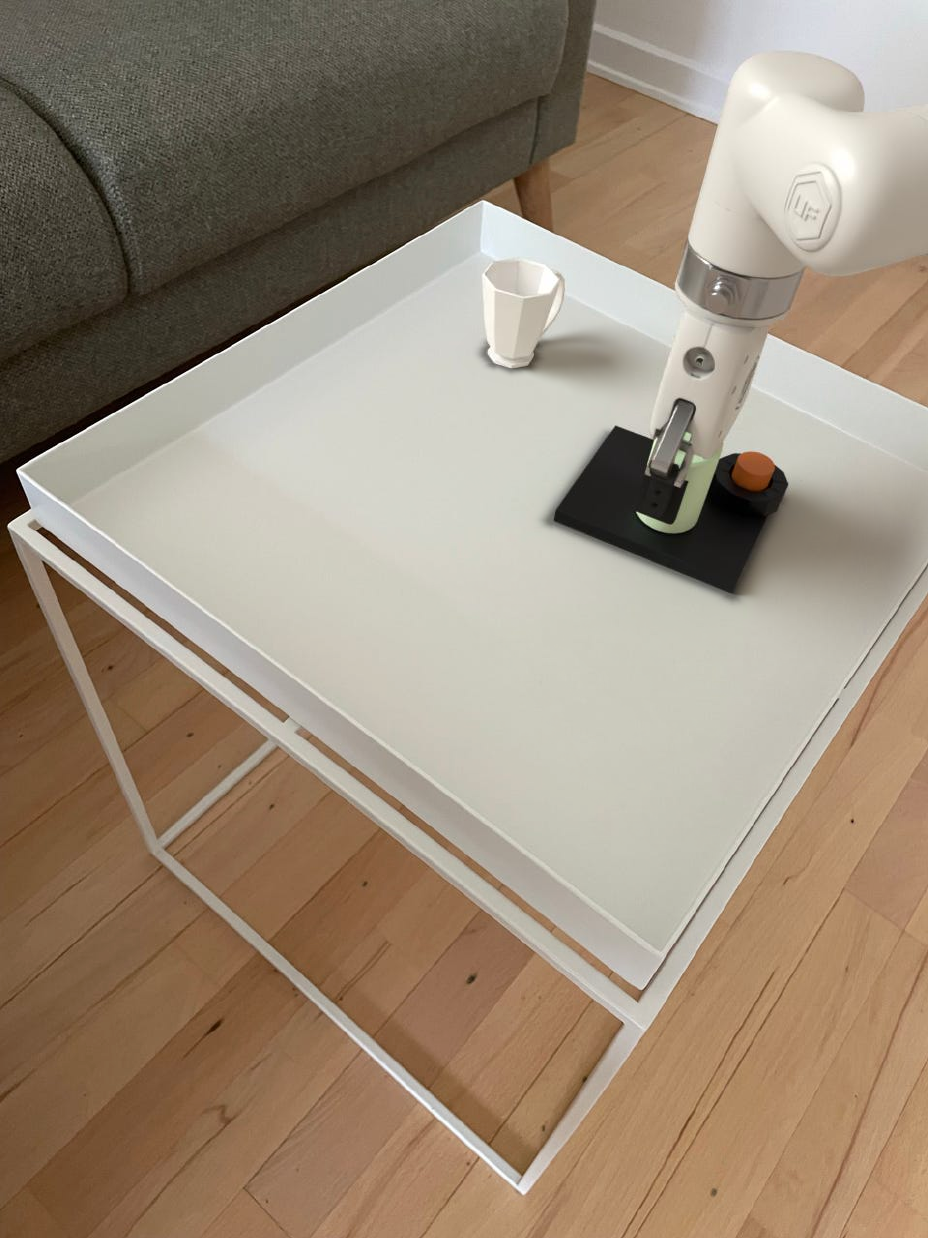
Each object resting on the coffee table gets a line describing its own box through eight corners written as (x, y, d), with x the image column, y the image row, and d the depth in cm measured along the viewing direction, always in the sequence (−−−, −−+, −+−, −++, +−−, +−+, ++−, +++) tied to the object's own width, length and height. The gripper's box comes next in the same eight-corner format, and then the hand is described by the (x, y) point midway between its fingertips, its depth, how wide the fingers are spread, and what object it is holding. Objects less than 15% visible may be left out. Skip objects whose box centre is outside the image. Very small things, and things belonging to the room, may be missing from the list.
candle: (698, 538, 76) (728, 455, 70) (635, 529, 76) (659, 446, 70) (695, 496, 80) (724, 414, 74) (634, 488, 80) (658, 404, 74)
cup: (458, 351, 93) (465, 272, 87) (528, 316, 98) (539, 239, 92) (512, 385, 90) (524, 306, 84) (581, 347, 95) (597, 270, 89)
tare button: (772, 476, 80) (779, 459, 79) (762, 496, 78) (769, 480, 77) (737, 463, 81) (743, 446, 80) (726, 483, 79) (732, 466, 78)
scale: (783, 497, 83) (795, 469, 80) (737, 596, 74) (749, 568, 72) (614, 433, 86) (621, 405, 84) (553, 520, 78) (559, 492, 76)
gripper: (757, 358, 56) (679, 576, 69) (827, 238, 67) (747, 446, 80) (636, 317, 58) (582, 536, 71) (722, 206, 69) (661, 415, 82)
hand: (670, 487), depth 76 cm, fingers open, 6 cm apart
